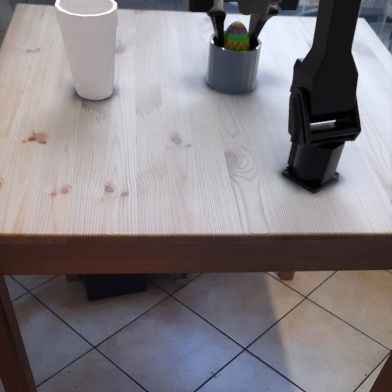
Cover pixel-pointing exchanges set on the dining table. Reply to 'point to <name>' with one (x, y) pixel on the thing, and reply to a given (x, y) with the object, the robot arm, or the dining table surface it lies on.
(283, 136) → the dining table surface
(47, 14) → the dining table surface
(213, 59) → the cup
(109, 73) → the foam cup
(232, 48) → the egg
